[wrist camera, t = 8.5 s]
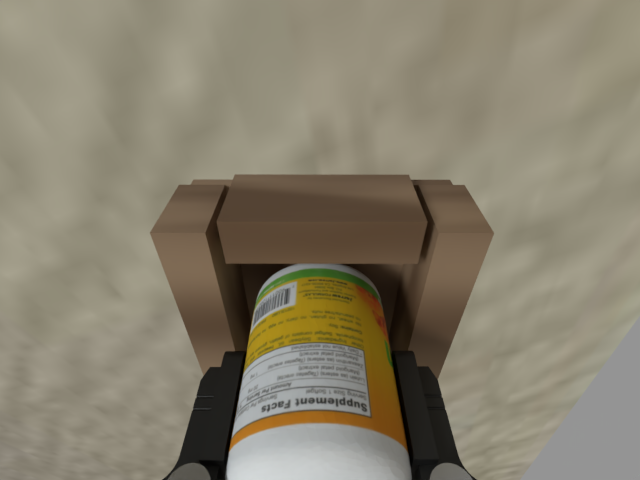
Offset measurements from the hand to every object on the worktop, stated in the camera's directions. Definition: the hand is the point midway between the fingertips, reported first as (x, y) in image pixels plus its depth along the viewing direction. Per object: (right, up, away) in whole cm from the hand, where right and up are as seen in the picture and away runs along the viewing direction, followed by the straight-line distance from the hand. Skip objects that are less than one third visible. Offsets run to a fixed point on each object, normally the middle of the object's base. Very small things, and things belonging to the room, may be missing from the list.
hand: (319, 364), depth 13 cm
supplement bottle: (0, +2, +3) cm, 3 cm away
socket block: (0, +3, +4) cm, 5 cm away
